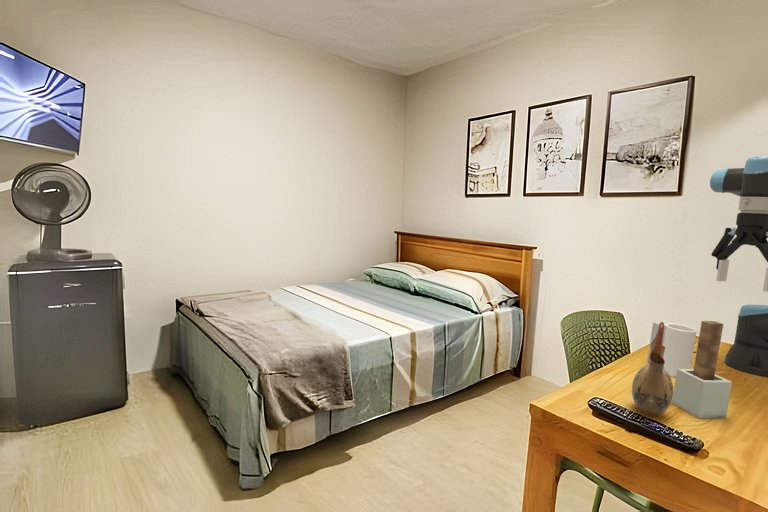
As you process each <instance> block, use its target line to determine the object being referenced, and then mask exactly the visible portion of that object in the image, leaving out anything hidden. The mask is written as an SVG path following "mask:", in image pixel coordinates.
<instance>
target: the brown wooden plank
mask: <svg viewBox="0 0 768 512" xmlns="http://www.w3.org/2000/svg"><path fill="white" fill-rule="evenodd" d="M723 330H724V323H722V322H718V321H715V320H714V321H713V320H701V323H700V329H699V336H698V341H697V347H696V353H695V361H694V365H693V369H694V370H693V375H694V376H696V377H699V378H701V379H703V380H714V376H715V374H716V370H717V363H718V359H719V358H718V357H719V352H720V346H721V341H722V334H723Z"/></svg>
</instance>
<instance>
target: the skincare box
mask: <svg viewBox="0 0 768 512" xmlns="http://www.w3.org/2000/svg"><path fill="white" fill-rule="evenodd" d="M660 322H661V321H656V322H654V321H653V322H652V328H651V333H650V341H649V348H648V354H647V361H648V362H649V355H650V353H651V343H652V341H653V340H654V338H655V337H656V335H657V332H658V328H659V323H660ZM662 322H663V323H664V332H663V340H662V346H663V344H664V338H665V331H666V325H667V324H679V323H676V322H674V321H670V320H669V321H662ZM679 325H681V324H679Z"/></svg>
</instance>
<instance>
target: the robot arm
mask: <svg viewBox="0 0 768 512" xmlns="http://www.w3.org/2000/svg"><path fill="white" fill-rule="evenodd" d="M709 187H710V189H711V190H712V191H713V192H715V193H722V194H724V193H728V194H733V195H735V196H738V197H739V203H738V209H737V210H738V211H740V212H738V213H737V214H736V222H735V224H736V226H737V228H736V227H725V230H724V234H723V235H722V237H721V239H720V240H719V242H718V243H717V245H716V246H715V248H714V249H713V250H712V252H711V254H710V255H711V257H714V258H716V261H717V262H716V266H715V267H716V270H717V273H716V279H715V281H716V282H727V278H728V271H729V265H730V260H729V257H730V256H731V255H733V254H734V253H735V252H736V251H737V250H738V249H740V248H741V247H742V246H744V245H746V246H747V245H748V246H755V247H756V248H757V249H758V251H760V253H761V255H762V256H763V258H764V259H765V261H766V263H768V155H764V156H762V155H759V156H758V155H757V156H751V157H749V158H747V159H746V161H745V165H744V167H739V168H738V167H737V168H736V167H734V168H732V167H731V168H729V167H728V168H720V169H718V170H715V171H714V172H713V173H712V174H711V176H710V179H709ZM734 237H735V238H734ZM762 288H763V289H762V292H768V267H766V270H765V275H764V281H763V287H762ZM737 317H738V319H737V324H736V329H735V330H736V331H735V335H734V336H735V337H734V342H733V344H732V345H731V346H730V348H729V350H728V352H727V353H726V355H725V358H724V361H723V362H724V363H725V364H726V365H727V366H729V367H731V368H733V369H736V370H739V371H742V372H746V373H747V374H752V375H757V376H764V377H768V305H767V304H765V305H764V304H744V305H743V306H741V307H740V309H739V312H738V315H737Z"/></svg>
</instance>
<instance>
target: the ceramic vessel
mask: <svg viewBox="0 0 768 512" xmlns="http://www.w3.org/2000/svg"><path fill="white" fill-rule="evenodd" d="M659 322H660V323H659V328H658V332H657V335H656V337H655V338H654V340H653V341H652V343H651V353H650V355H649V361H648V362H647V364H646V365H644V366H642V367H641V368H640V369H639V370H638V371H637V372H636V374H635V376H634V378H633V379H632V380H633V381H632V386H631V395H632V399H633V403H634V405H635V406H636V408H637V409H638V411H639V412H640V413H641V414H642V415H644V416H647V417H649V418H650V417H652V418H655V417H659V416H661V415H663V414H664V413H665V412H666V411H667V410H668V408H669V407H670V406H671V403H672V399H673V392H674V385H673V381H672V378H671V376H669V374H668V373H667V372H666V371H665V369H664V364H665V360H664V358H663V355H664V351H665V347H664V346H662V340H663V332H664V323H663V322H664V321H659Z"/></svg>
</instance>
